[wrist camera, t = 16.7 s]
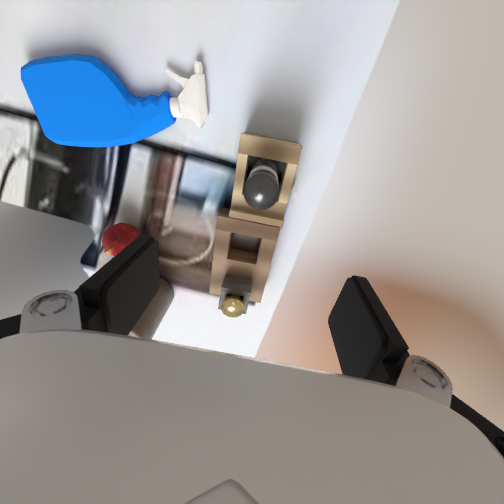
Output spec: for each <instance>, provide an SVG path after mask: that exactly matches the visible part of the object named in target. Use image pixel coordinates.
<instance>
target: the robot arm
mask: <svg viewBox="0 0 504 504" xmlns="http://www.w3.org/2000/svg"><path fill="white" fill-rule="evenodd" d="M159 286H160V279H159V250H158V241H156V240H155V238H154V237H151V236H146V235H139V236H138V237H137V238H136V239H135V240H134V241H132V242H131V243H130V244H129V245H128V246H127V247H125V248H124V249H123V250H122V251H121V252H119V253H118V254H117V255H116V256H115V257H114V258H112V259H111V260H110V261H109V262H108V263H106V264H105V265H104V266H103V267H102V268H101V269H99V270H98V271H97V272H96V273H95V274H93V275H92V276H91V277H90V278H89V279H88V280H86V281H85V282H84V283H83V284H82V285H80V286H79V288H78V289H77V290H76V291H75V292H71V291H67V290H55V291H50V292H46V293H43V294H41V295H38V296H36V297H34V298H33V299H31V300H30V301H28V302H27V303H26V305H25V306H24V308H23V310H22V314H20V315H16V316H13V317H9V318H6V319H2V320H0V504H504V432H503V431H502V430H501V429H499V428H498V427H497V426H495V425H494V424H493V423H491V422H490V421H488V420H487V419H486V418H484V417H483V416H482V415H480V414H479V413H477V412H476V411H475V410H473V409H472V408H471V407H469V406H468V405H466V404H465V403H464V402H463V401H461V400H460V399H458V398H457V397H456V396H454V395H453V394H452V390H453V389H452V383H451V381H450V379H449V378H448V376H447V375H446V374H445V373H444V372H443V370H441V369H440V368H439V367H438V366H437V365H436V364H434V363H433V362H431V361H430V360H428V359H426V358H424V357H421V356H417V355H411V356H410V355H409V353H408V351H407V350H408V349H409V347H408V345H407V344H406V342H405V341H404V339H403V337H402V336H401V334H400V332H399V331H398V329H397V327H396V326H395V324H394V323H393V321H392V319H391V318H390V316H389V315H388V313H387V311H386V310H385V308H384V306H383V305H382V303H381V301H380V300H379V298H378V296H377V295H376V293H375V292H374V290H373V288H372V287H371V285H370V283H369V282H368V280H367V279H366V278H364V277H359V276H352V277H351V278H348V279H347V280H346V282H345V284H344V286H343V288H342V291H341V293H340V295H339V297H338V299H337V301H336V303H335V305H334V307H333V309H332V311H331V314H330V315H329V318H328V324H329V328H330V331H331V335H332V338H333V342H334V345H335V349H336V352H337V356H338V359H339V363H340V367H341V370H342V373H343V375H341V374H337V373H331V372H326V371H321V370H316V369H310V368H305V367H300V366H294V365H289V364H283V363H278V362H272V361H267V360H262V359H257V358H251V357H246V356H240V355H235V354H229V353H224V352H218V351H213V350H207V349H202V348H196V347H190V346H185V345H179V344H173V343H168V342H162V341H156V340H151V339H145V338H138V337H132V336H128V335H129V333H130V332H131V330H132V329H133V327H134V326H135V324H136V323H137V321H138V320H139V318H140V317H141V315H142V314H143V313H144V311H145V310H146V308H147V307H148V305H149V304H150V302H151V301H152V299H153V298H154V296H155V295H156V293H157V292H158V290H159Z"/></svg>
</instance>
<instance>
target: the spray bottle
mask: <svg viewBox="0 0 504 504" xmlns="http://www.w3.org/2000/svg"><path fill="white" fill-rule="evenodd" d="M194 69H195V74H193V75H192V76H191V77H190V78H183V77H181V76H178V75H176V74H174V73H173V72H171V71H169V70H167V69H165V70H164V71H165V72H166V73H167V74H168V75H169V76H170V77H172V78H173V79H174V80H176V81H177V82H178V83H180V84H181V85H182V87H183V91H182V92H181V93H180V95H179V96H178V97H173V98H171V96H170V94H169V93H168V91H164V92H163V93H162V94H161V95H160V96H159V97H156V96H153V95H150V96H148V97H146V98H143V97H141V96H139V97H138V98H136V97H134V96H133V95H131V94H130V93H129V92H128V90H127V89H126V88H125V86H124V85H123V83H122V82H121V80H120V79H119V78H118V76H117V75H116V74H115V73H114V72H113V71H112V70H111V69H110V68H109V67H107V66H106V65H105V64H104V63H102V62H101V61H99V60H98V59H97V58H95V57H93V56H86V55H77V54H75V55H65V56H56V57H46V58H42V59H38V60H34V61H30V62H28V63H27V64H25V65H24V66H23V67H21V80H22V82H23V84H24V87H25V89H26V91H27V94H28V96H29V99H30V101H31V103H32V106H33V108H34V110H35V113H36V115H37V117H38V120H39V122H40V124H41V127H42V129H43V131H44V134H45V136H46V137H48V138H49V139H50V140H52V141H53V142H55V143H57V144H62V145H69V146H80V147H110V146H121V145H126V144H131V143H135V142H137V141H139V140H142V139H144V138H147V137H149V136H152V135H154V134H156V133H158V132H160V131H162V130H164V129H165V128H167V127H169V126H170V125H172V124H174V122H175V121H176V117H184V118H188V119H190V120H192V121H193V122H195V124H196V125H197V126H198V127H199V128H203V125H204V123H205V121H206V119H207V117H208V105H207V94H206V82H205V75H204V74H203V65H202V62H197V61H196V62H194Z"/></svg>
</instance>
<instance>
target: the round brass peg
mask: <svg viewBox="0 0 504 504" xmlns="http://www.w3.org/2000/svg"><path fill="white" fill-rule="evenodd" d="M240 297H241V296H240V295H235V294H230V295H229V297H226V298H225V299H224V300H223V303H222V307H221V309H222V312H223V313H224V314H225V315H227V316H229V317H238V316H240V315H241V314H242V312H243V307H244V303H243V301H242V300H241V299H240Z"/></svg>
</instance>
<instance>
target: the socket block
mask: <svg viewBox="0 0 504 504" xmlns="http://www.w3.org/2000/svg"><path fill="white" fill-rule="evenodd" d="M229 211H230V209H227V208H222V209H221V211H220V212H219V214H218V216H217V225H216V235H215V244H214V254H213V263H212V272H211V282H210V291H209V293H211V294H216V295H220V300H219V307H218V309H221V307H222V303H223V300H224V299H225V298H226V297H229V295H230V294H235V295H240V296H241V297H240V299H241V300H242V301H243V303H244V307H243V312H242V313H243V314H246V311H247V306H248V302H249V301H253V302H258V303H260V302H261V299H262V295H263V291H264V287H265V283H266V279H267V276H268V272H269V268H270V264H271V260H272V256H273V253H274V249H275V245H276V241H277V237H278V233H279V230H280V227H278V226H273V225H268V224H263V223H258V222H253V221H248V220H243V219H237V218H232V217H229ZM233 233H237V234H242V235H247V236H252V237H257V238H261V239H260V244H259V248H258V253H253V252H248V251H243V250H238V249H233V248H231V241H232V234H233ZM221 310H222V309H221Z"/></svg>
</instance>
